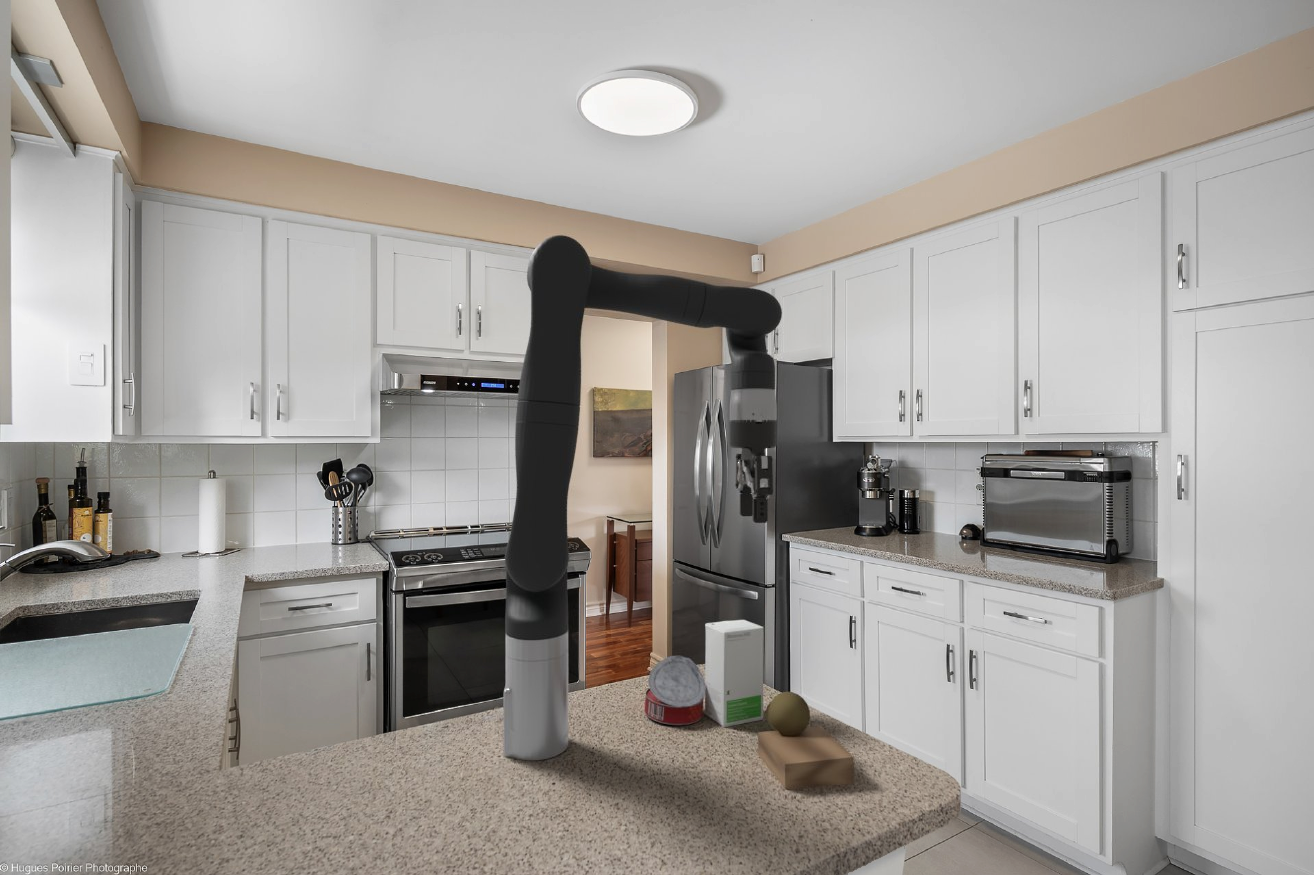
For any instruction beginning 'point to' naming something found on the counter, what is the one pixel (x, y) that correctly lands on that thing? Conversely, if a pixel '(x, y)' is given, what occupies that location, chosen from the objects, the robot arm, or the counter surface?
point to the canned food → (675, 692)
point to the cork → (788, 714)
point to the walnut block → (806, 758)
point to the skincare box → (734, 672)
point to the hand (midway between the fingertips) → (753, 519)
